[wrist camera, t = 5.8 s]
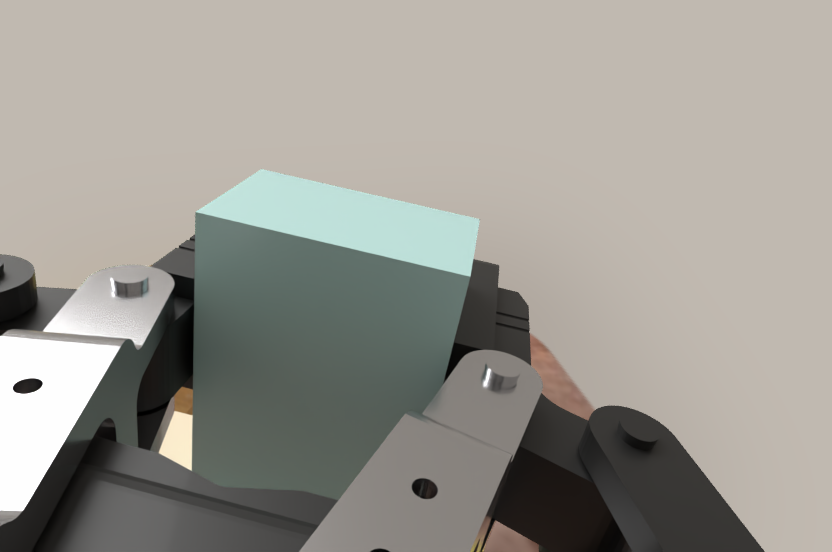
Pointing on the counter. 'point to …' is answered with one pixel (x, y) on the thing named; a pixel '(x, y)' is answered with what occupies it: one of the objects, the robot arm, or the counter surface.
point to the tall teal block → (317, 328)
